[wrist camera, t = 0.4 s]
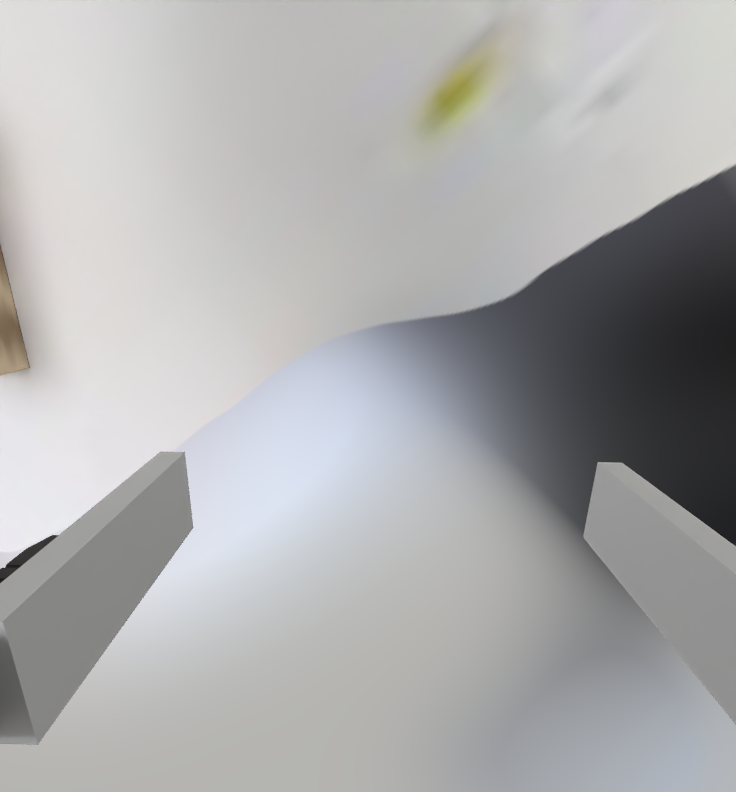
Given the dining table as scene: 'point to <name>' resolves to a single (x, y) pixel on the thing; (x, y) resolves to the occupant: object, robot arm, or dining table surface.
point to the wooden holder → (9, 329)
